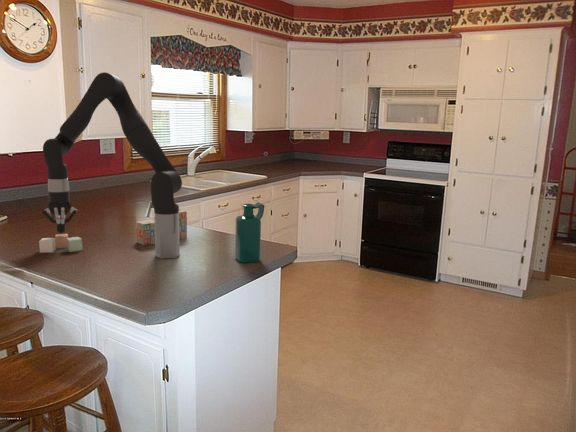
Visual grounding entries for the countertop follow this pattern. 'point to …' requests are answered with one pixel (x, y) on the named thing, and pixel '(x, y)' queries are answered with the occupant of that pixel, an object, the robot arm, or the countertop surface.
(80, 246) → the sage cube
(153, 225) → the stack of blocks
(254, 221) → the pitcher
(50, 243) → the cream cube
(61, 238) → the terracotta cube
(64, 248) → the mat
